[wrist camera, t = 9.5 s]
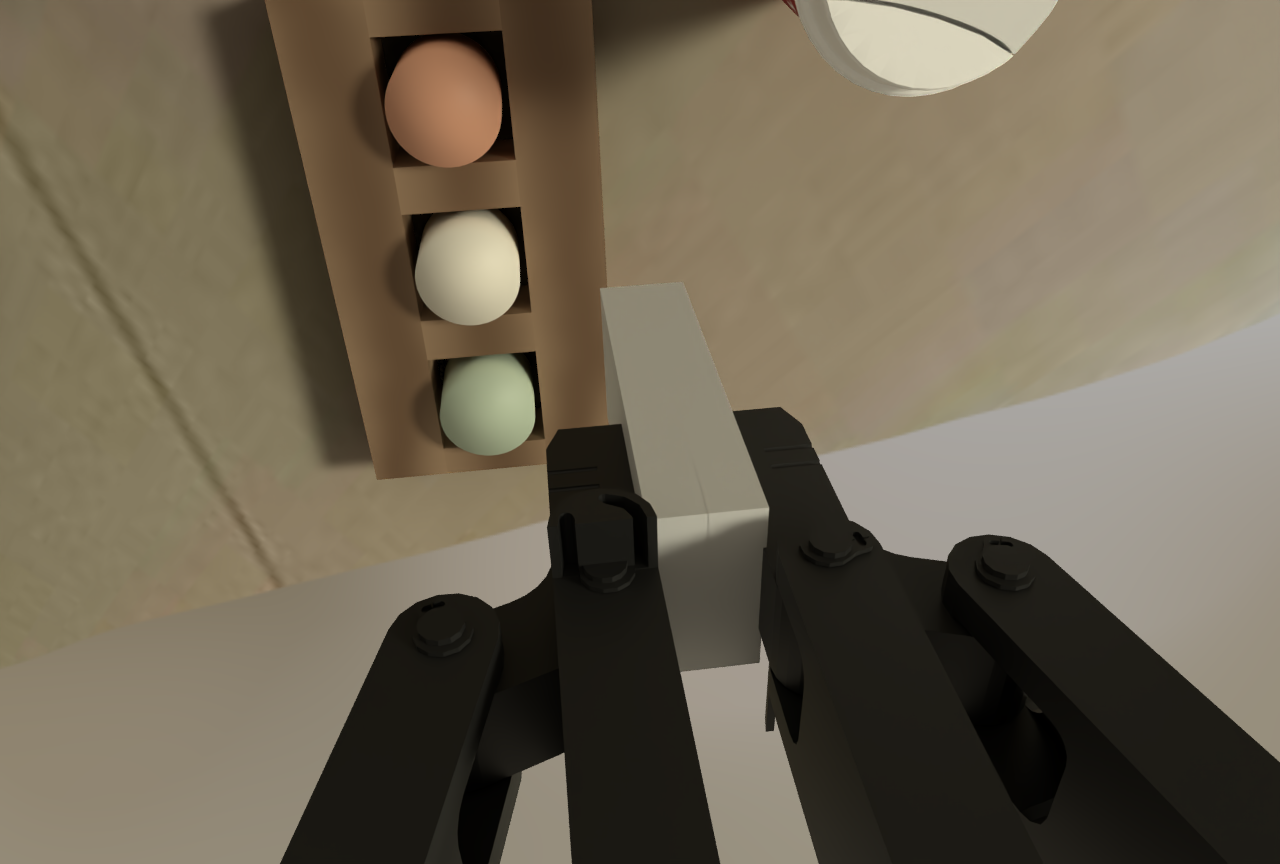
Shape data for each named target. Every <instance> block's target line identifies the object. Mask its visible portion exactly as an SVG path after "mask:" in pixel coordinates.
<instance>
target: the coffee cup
mask: <svg viewBox="0 0 1280 864" xmlns="http://www.w3.org/2000/svg"><path fill="white" fill-rule="evenodd" d="M782 1H783V2H784V3H785V4H786V5H787V6H788V7H789V8H790V9H791V10H792V11H793V12H794V13H795V14H796V15H797V16H798V17H799V18H800V21H801V23H802V25H803V27H804V29H805V31H806V33H807V35H808V38H809V40H810V41H811V42H812V44H813V45H814V47H815V48H816V50H817V51H818V52H819V54H820V55H821V57H822V58H823V59H824V60H825V61H826V62H827V63H828V64H829V65H830V66H831V67H832V68H833V69H834V70H835V71H836V72H838V73H839V74H841V75H842V76H843V77H845V78H846V79H848V80H849V81H851V82H852V83H854V84H856V85H858V86H861V87H863V88H865V89H868V90H870V91H873V92H877V93H881V94H885V95H890V96H904V97H915V96H923V95H932V94H936V93H939V92H943V91H946V90H950V89H953V88H955V87H958V86H960V85H962V84H965V83H968V82H970V81H973V80H975V79H977V78H979V77H982V76H984V75H986V74H988V73H989V72H991V71H993V70H994V69H996V68H998V67H999V66H1001V65H1002V64H1004V63H1005V62H1007V61H1008V60H1009V59H1010V58H1012V57H1013V55H1012V54H1010V53H1013V54H1015V53H1016V52H1017V51H1018V50H1019V49H1020V48H1021V47H1022V46H1023V45H1024V44H1025V42H1026V41H1027V40H1028V39H1029V38H1030V37H1031V36H1032V35H1033V34H1034V32H1035V31H1036V30H1037V29H1038V28H1039V26H1040V25H1041V24H1042V23H1043V21H1044V20H1045V19H1046V18H1047V16H1048V15H1049V14H1050V13H1051V11H1052V9H1053V8H1054V6H1055V5H1056V3H1057V1H1058V0H782Z"/></svg>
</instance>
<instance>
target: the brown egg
mask: <svg viewBox="0 0 1280 864" xmlns="http://www.w3.org/2000/svg"><path fill="white" fill-rule="evenodd" d="M385 114H386V118H387V122H388V125H389V128H390V130H391V132H392V134H393V136H394V137H395V139H396V140H397V142H398V143H399V144H400V145H401V146H402V147H403V149H404V150H406V151H407V152H408V153H409V154H410V155H412V156H413V157H415V158H416V159H418V160H420V161H422V162H424V163H426V164H429V165H433V166H437V167H444V168H452V167H460V166H463V165H467V164H469V163H472V162H474V161H475V160H477V159H479V158H480V157H481V156H483V155H484V154H485V153H486V152H487V151H488V150H489V149H490V147H491V146H492V145H493V143H494V141H495V139H496V138H497V135H498V133H499V130H500V125H501V118H502V84H501V78H500V74H499V71H498V69H497V66H496V64H495V62H494V61H493V59H492V57H491V56H490V55H489V54H488V52H487V51H486V50H485V49H484V48H483V47H482V46H481V45H480V44H478V43H477V42H476V41H474V40H472V39H471V38H469V37H467V36H465V35H462V34H459V33H443V34H425V35H423V36H421V37H419V38H417V39H416V40H414V41H413V42H412V43H411V44H409V45H408V46H407V48H406V49H405V50H404V51H403V53H402V54H401V56H400V58H399V60H398V62H397V65H396V67H395V69H394V72H393V74H392V76H391V78H390V81H389V83H388V86H387V89H386V94H385Z"/></svg>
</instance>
